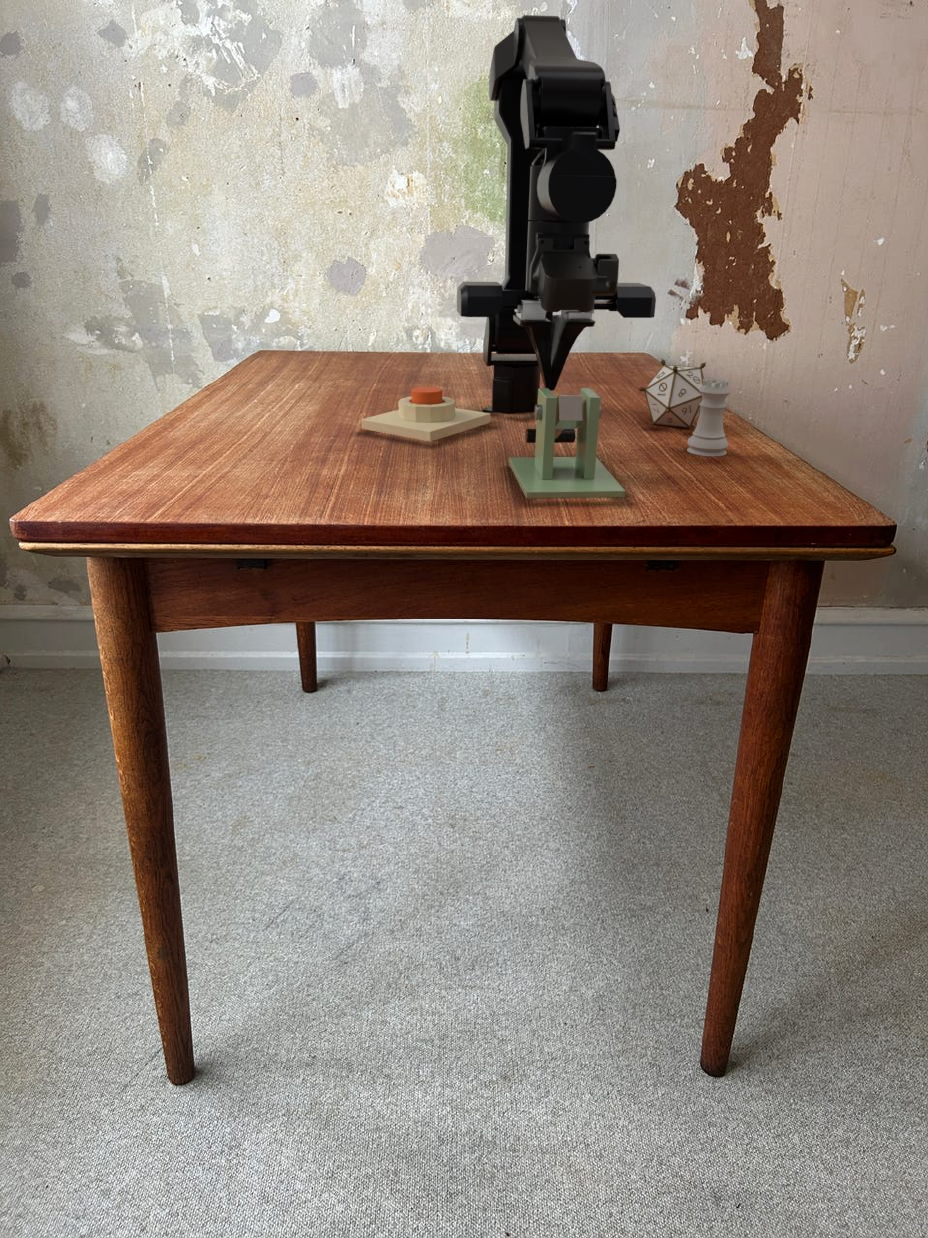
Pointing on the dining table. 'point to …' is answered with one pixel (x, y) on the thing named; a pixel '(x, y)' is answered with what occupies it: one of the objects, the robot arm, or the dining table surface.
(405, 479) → the dining table surface
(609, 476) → the green lever stand
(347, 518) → the dining table surface
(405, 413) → the button block
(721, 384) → the rook chess piece
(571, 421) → the lever
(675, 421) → the game die
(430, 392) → the button
